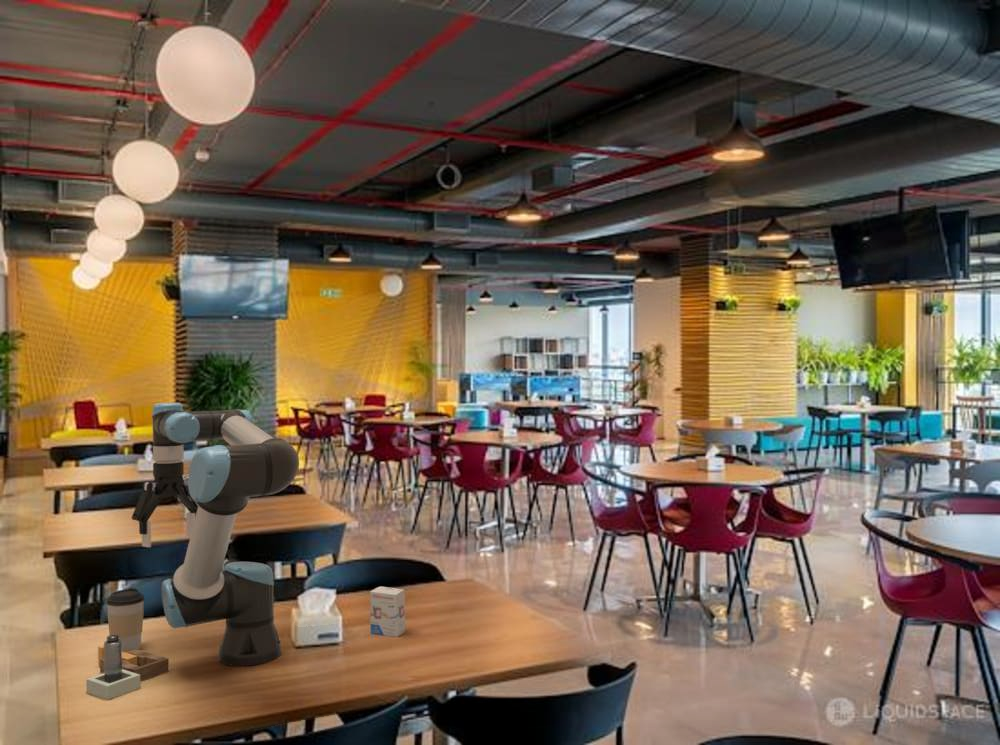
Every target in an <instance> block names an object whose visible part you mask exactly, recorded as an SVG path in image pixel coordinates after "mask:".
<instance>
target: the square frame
mask: <svg viewBox="0 0 1000 745" xmlns="http://www.w3.org/2000/svg"><path fill="white" fill-rule="evenodd" d="M85 681H86V682H85V683H86V693H88V694H90V695H93V696H95V697H98V698H101V699H103V700H106V701H107V700H112V699H115V698H116V697H119V696H123V695H125V694H127V693H130V692H133V691H135V690H138V689H141V681H140V674H136V673H133V672H130V671H127V670H124V669H122V679H121V680H118V681H115V682H112V683H107V682H105V673H101V674H98V675H95V676H92V677H89V678H86V680H85Z"/></svg>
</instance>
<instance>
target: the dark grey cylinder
mask: <svg viewBox="0 0 1000 745" xmlns="http://www.w3.org/2000/svg"><path fill="white" fill-rule="evenodd" d="M103 645H104V667H105V682H107V683H112V682H115V681H118V680H121V679H122V640H121V639H119V635H107V636H106V640H105V641H104V642H103Z"/></svg>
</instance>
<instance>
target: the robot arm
mask: <svg viewBox="0 0 1000 745" xmlns="http://www.w3.org/2000/svg"><path fill="white" fill-rule="evenodd" d="M151 419H152V460H153V462H154V463H152V476H153V479H154V480H153V482H148V481H147V482H146V481H145V482H143V483H142V492H141V494H140V496H139V499H138V501H137V503H136V506H135V508H134V511H133V513H132V515H131V520H133V521H136V522H137V521H138V524H139V526H138V528H139V534H140V535H141V547H145V548H152V525H151V524H152V521H149V519H150V518H151V516H152V515H153V513H154V512H155V510H156V508H157V507H158V506H159V504H160V503H161V501H163V500H164V498H165V499H167V498H170V497H177V499H178V500H179V501H180V502H181V503H182V505H183V506H184V507H185V509H187V511H188V512H186V513H185V516H186V517H185V518H186V519H185V520H186V522H185V526H186V537H187V538H189V540H188V545H187V549H186V553H185V556H184V562H183V564H181V565H180V566H179V567H178V568H177V569H176V571H175V572H174V575H173V578H167V579H165V580H163V581H162V583H161V588H160V590H161V601H162V607H163V611H164V616H165V618H166V622H167V624H168V625H169V626H170V627H171V628H173V629H180V628H188V627H192V626H197V625H202V624H208V623H209V624H210V623H213V622H219V621H224V620H225V628H224V632H223V635H222V640H221V644H220V645H219V648H218V660H219V662H220V663H222V664H224V665H228V666H229V665H230V666H238V667H239V666H240V667H241V666H245V667H246V666H252V665H253V666H254V665H259V664H263V663H264V664H265V663H267V662H270V661H273V660H275V659H277V658H278V657H279V656H281V654H282V643H281V640H280V639H279V638H280V637H279V634H278V631H277V629H276V628H277V627H276V625H275V620H274V619H275V618H274V608H275V604H274V599H275V598H274V596H275V595H274V587H275V586H274V585H275V582H274V571H273V569H272V567H271V566H270V565H268V564H265V563H262V562H255V561H233V562H231V561H230V562H228V563H226V564H225V565H224V561H225V558H226V555H227V551H228V548H229V544H230V540H231V537H232V533H233V530H234V526H235V523H236V519H237V516H238V514H239V513H242V512H243V511H244V510H245V508H246V507H247V505H248V502H249V500H250V498H253V497H262V496H269V495H274V494H277V493H279V492H281V491H283V490H285V489H286V488H287V487H288V486H289V485H291V484H292V483H293V481H294V480H295V479H296V477H297V475H298V471H299V469H300V458H299V454H298V453H297V450H296V448H294V446H293V445H292V444H291V443H289V442H288V441H287V440H285V439H282V438H281V437H273V436H271V435H270V434H268V433H267V432H266V431H265V430H263V429H261V428H260V427H258V425H257V426H256V424H254V417H253V416H252V413H251V412H250V411H249V410H248V409H239V408H237V409H231V410H230V409H228V410H227V409H226V410H212V411H211V410H206V411H205V410H202V411H201V410H200V411H184V408H183V404H182V403H180V402H160V403H159V402H158V403H155V404H154V405H152V414H151ZM215 440H223V441H225V442H226V443H228V444H229V445H221V444H217V445H215V444H214V445H213V446H207V447H202V448H200V449H198V450H197V451H195V453H194V455H193V457H192V458H191V461H190V463H189V467H188V471H187V472H188V476H184V477H183V475H184V473H185V472H184V471H185V470H184V469H185V468H184V464H185V462H183V461H182V460H184V459H185V458H184V457H185V455H184V443H190V442H197V441H215ZM183 486H184V488H185V490H186V491H185V490H184V489H183ZM186 493H187V494H186ZM223 565H224V568H223ZM222 569H223V570H222Z"/></svg>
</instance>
